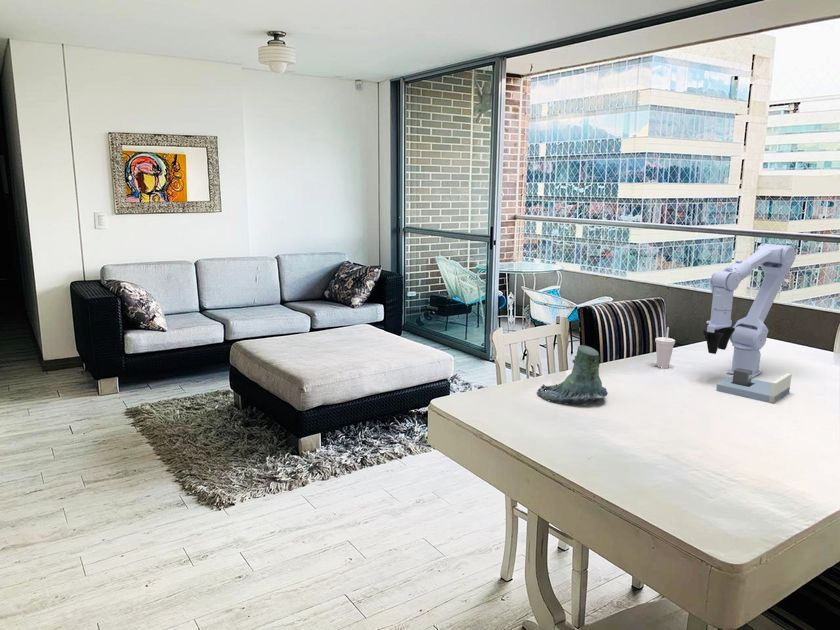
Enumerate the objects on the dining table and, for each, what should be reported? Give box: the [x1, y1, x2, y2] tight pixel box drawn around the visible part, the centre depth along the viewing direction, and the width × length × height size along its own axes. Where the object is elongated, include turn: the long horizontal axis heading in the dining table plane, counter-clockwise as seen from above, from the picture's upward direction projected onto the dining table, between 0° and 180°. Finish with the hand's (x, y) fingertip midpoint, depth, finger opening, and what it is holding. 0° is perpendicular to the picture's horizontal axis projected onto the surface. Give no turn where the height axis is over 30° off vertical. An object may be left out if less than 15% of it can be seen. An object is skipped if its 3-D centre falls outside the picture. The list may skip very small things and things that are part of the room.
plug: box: [732, 368, 753, 387], centre depth 195 cm, size 4×4×6 cm
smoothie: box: [654, 326, 676, 369], centre depth 217 cm, size 6×6×14 cm
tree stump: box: [536, 344, 609, 405], centre depth 185 cm, size 18×20×18 cm
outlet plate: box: [715, 372, 792, 404], centre depth 192 cm, size 14×16×6 cm
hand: (717, 351), depth 203 cm, fingers open, 7 cm apart
